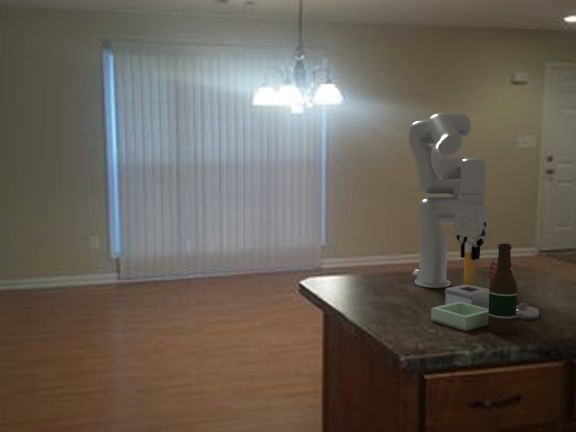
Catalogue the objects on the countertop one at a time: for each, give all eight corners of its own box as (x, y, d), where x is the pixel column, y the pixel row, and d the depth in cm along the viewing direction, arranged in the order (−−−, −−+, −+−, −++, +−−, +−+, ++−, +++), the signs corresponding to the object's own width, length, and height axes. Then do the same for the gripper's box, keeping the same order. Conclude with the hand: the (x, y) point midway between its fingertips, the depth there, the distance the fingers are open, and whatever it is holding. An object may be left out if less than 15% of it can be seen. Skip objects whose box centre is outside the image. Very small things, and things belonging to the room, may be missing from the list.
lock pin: (461, 283, 200) (462, 242, 198) (468, 282, 202) (469, 241, 200) (469, 285, 197) (471, 243, 196) (477, 284, 199) (478, 242, 198)
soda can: (513, 303, 205) (515, 263, 204) (490, 302, 207) (491, 263, 205) (510, 298, 212) (512, 259, 211) (487, 297, 214) (489, 259, 212)
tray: (431, 320, 186) (431, 307, 186) (459, 313, 194) (459, 301, 193) (465, 330, 176) (466, 317, 176) (493, 323, 184) (494, 310, 183)
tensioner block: (444, 307, 201) (444, 288, 200) (467, 302, 208) (467, 283, 207) (469, 314, 193) (470, 294, 192) (493, 308, 200) (494, 289, 199)
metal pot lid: (500, 314, 193) (500, 302, 192) (518, 310, 198) (518, 298, 198) (526, 321, 185) (527, 309, 185) (544, 316, 191) (545, 304, 190)
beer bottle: (482, 326, 180) (485, 242, 178) (509, 326, 181) (512, 241, 178) (493, 335, 173) (496, 246, 170) (521, 334, 173) (525, 246, 171)
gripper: (442, 197, 201) (441, 255, 203) (486, 202, 188) (484, 263, 190) (458, 196, 205) (456, 253, 207) (502, 200, 192) (500, 261, 194)
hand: (470, 257), depth 199 cm, fingers closed on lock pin, 3 cm apart
